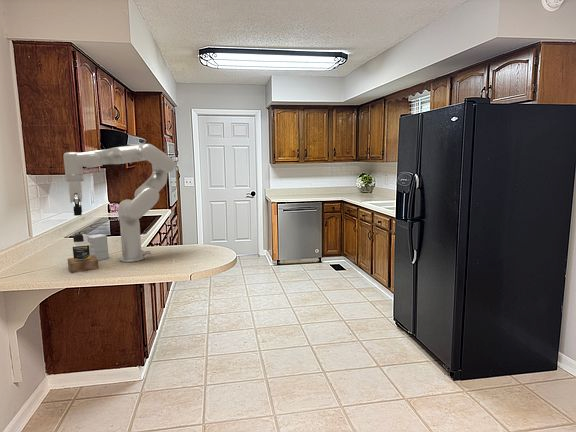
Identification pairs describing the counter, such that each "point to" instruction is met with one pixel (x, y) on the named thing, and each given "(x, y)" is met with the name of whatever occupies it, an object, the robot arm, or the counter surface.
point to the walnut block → (83, 264)
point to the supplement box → (98, 246)
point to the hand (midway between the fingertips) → (78, 214)
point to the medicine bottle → (81, 247)
